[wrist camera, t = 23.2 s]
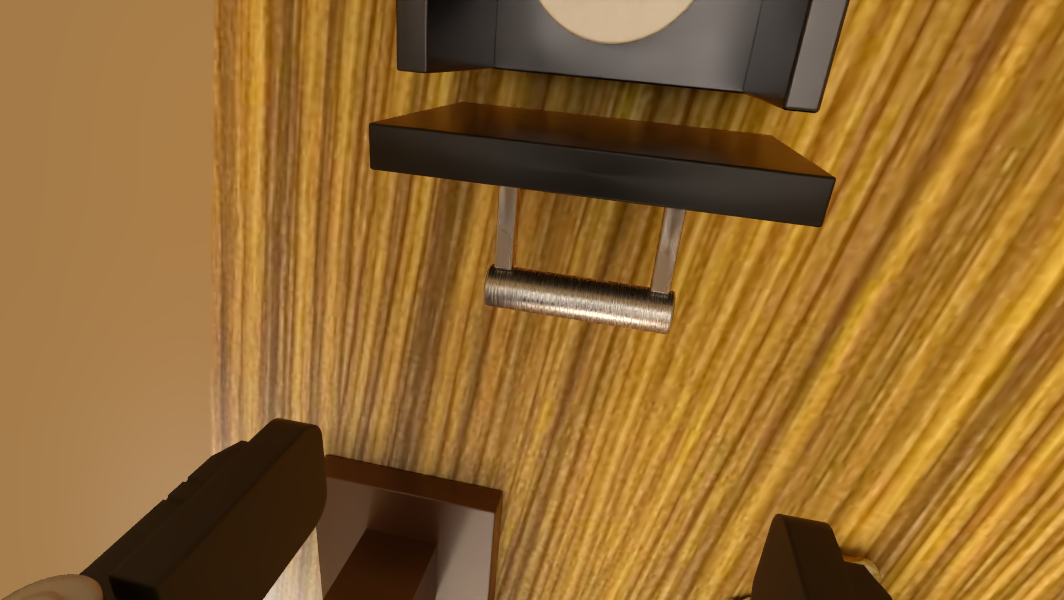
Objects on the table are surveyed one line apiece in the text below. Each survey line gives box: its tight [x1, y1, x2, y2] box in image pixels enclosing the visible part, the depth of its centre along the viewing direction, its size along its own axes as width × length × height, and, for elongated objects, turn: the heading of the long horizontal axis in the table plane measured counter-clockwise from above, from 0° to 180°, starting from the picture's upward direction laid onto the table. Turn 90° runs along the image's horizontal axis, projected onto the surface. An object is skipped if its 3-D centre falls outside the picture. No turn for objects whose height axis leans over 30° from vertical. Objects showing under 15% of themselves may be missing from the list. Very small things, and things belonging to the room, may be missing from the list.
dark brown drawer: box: [369, 0, 850, 334], centre depth 16 cm, size 18×11×8 cm, turn 175°
